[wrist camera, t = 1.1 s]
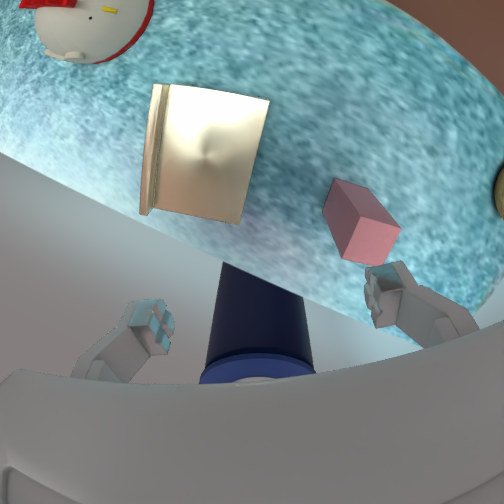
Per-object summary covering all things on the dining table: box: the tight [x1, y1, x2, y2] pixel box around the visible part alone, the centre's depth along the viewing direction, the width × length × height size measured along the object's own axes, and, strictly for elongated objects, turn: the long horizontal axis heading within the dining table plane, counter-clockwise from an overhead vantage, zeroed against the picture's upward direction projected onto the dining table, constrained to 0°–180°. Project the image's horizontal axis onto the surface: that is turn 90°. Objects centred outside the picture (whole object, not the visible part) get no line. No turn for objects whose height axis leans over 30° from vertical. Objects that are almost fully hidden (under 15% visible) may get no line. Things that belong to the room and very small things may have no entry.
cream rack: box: [139, 83, 270, 225], centre depth 29 cm, size 14×11×8 cm
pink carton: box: [322, 178, 401, 266], centre depth 32 cm, size 5×5×11 cm
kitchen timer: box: [19, 0, 154, 64], centre depth 16 cm, size 14×14×15 cm
